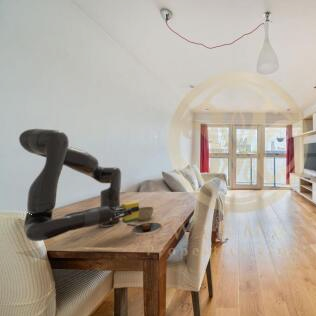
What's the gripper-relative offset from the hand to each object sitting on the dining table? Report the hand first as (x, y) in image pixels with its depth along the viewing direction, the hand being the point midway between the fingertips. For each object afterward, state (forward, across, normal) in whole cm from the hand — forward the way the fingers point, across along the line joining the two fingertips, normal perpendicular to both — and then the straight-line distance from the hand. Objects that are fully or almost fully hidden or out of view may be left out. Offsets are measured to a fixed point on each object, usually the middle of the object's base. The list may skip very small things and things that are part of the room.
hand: (136, 207), depth 92 cm
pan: (+5, +4, +13) cm, 15 cm away
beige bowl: (+12, +16, +14) cm, 24 cm away
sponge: (-3, 0, +6) cm, 7 cm away
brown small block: (+5, 0, +12) cm, 13 cm away
